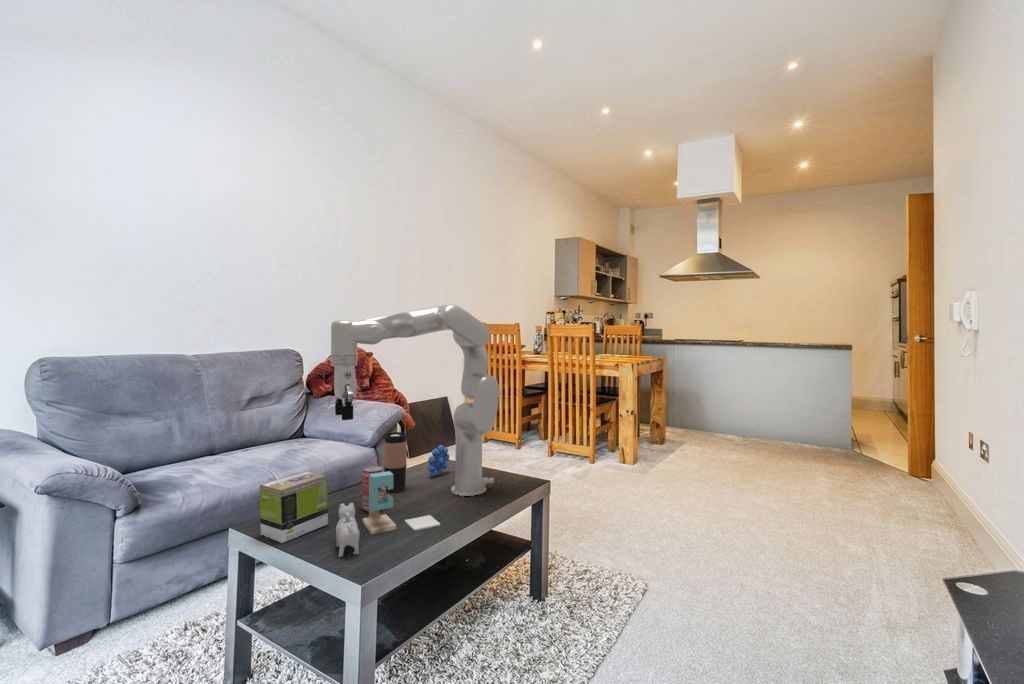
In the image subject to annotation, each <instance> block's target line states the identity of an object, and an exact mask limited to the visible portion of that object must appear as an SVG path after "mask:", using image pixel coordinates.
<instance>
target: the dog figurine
mask: <svg viewBox="0 0 1024 684" xmlns="http://www.w3.org/2000/svg"><path fill="white" fill-rule="evenodd" d="M337 513H338V517H339V520H338V521H337V523H336V526H335V535H336V537H335V538H336V547H338V548H339V550H338V557H339V558H342V557H344V552H345V548H346V547H347V546H350V547H352V548H353V550H354V551H353V553H352V554H353V555H359V552H360V551H359V550H360V549H359V546H360V545H359V542H360V541H359V540H360V535H361V534H360V530H359V529H358V528H359V526H358V523H357V520H356V517H355V515H356V509H355V504H354V503H353V502H350V503H348V505H346V504H345V503H340V505H339V508H338V512H337Z"/></svg>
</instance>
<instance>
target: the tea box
mask: <svg viewBox="0 0 1024 684" xmlns="http://www.w3.org/2000/svg"><path fill="white" fill-rule="evenodd" d="M328 495H329V494H328V476H327V475H323V474H318V473H315V472H310V471H307V470H306V471H303V472H302V471H301V472H299V473H295V474H291V475H288V476H285V477H282V478H278V479H275V480H272V481H267V482H264V483H261V484H259V509H260V511H259V516H260V519H259V520H260V523H259V524H260V536H262V535H264V536H266V537H269V538H271V539H273V540H272V541H274V540H276V541H275V542H277V541H278V542H277V543H280V544H283V543H285V542H288V541H291V540H293V539H296V538H298V537H301V536H303V535H305V534H308V533H310V532H312V531H315V530H317V529H320V528H322V527H326V526H327V525H329V512H328V511H329V507H328V506H329V505H328V503H329V501H328V500H329V499H328V498H329V497H328ZM266 537H265V538H266ZM269 538H268V539H269ZM271 539H270V540H271Z"/></svg>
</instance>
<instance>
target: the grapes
mask: <svg viewBox="0 0 1024 684" xmlns="http://www.w3.org/2000/svg"><path fill="white" fill-rule="evenodd" d="M449 460H450V454H449V448H448V447H447V446H444V444H440V445H438V446H437V448H434V449H432V451H431V455H430V456H429V457H428V459H427V463H428V466H427V471H428V472H429V473H430V476H431V477H436V476H438V475H439V476H441V475H442V474H443V471H444V470H446V469H447V468H448V463H447V461H449Z"/></svg>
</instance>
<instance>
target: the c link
mask: <svg viewBox="0 0 1024 684" xmlns="http://www.w3.org/2000/svg"><path fill="white" fill-rule="evenodd" d="M380 487H385V488H387V489H388V490H389V489H393V474H392V473H391V472H390V471H388V472H381V473H374V474H369V508H370V509H371V510H372V511H376V510H379V511H381V510H386V509H392V508H394V497H392V496H391V494H387V495H386V494H385V496H384V499H382V500H378V488H380Z"/></svg>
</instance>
